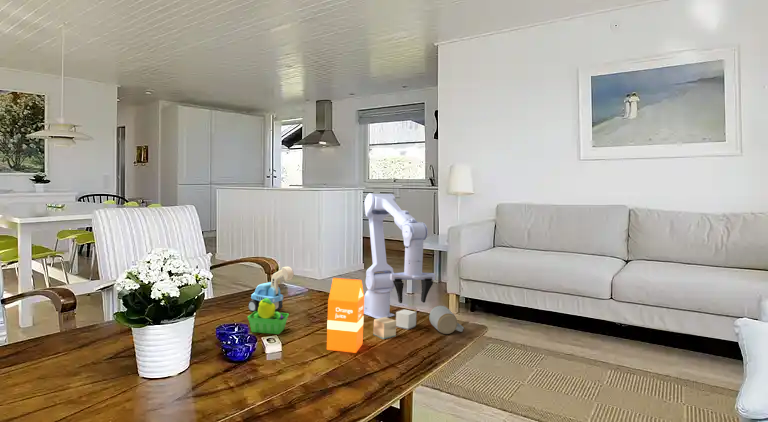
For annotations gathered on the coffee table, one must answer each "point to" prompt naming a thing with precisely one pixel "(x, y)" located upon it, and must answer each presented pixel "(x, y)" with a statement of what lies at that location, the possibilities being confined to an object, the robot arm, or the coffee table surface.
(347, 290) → the orange juice
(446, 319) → the ceramic mug
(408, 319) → the grey cube
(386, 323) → the maple cube
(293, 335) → the coffee table surface
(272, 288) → the toy excavator
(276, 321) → the fruit basket
